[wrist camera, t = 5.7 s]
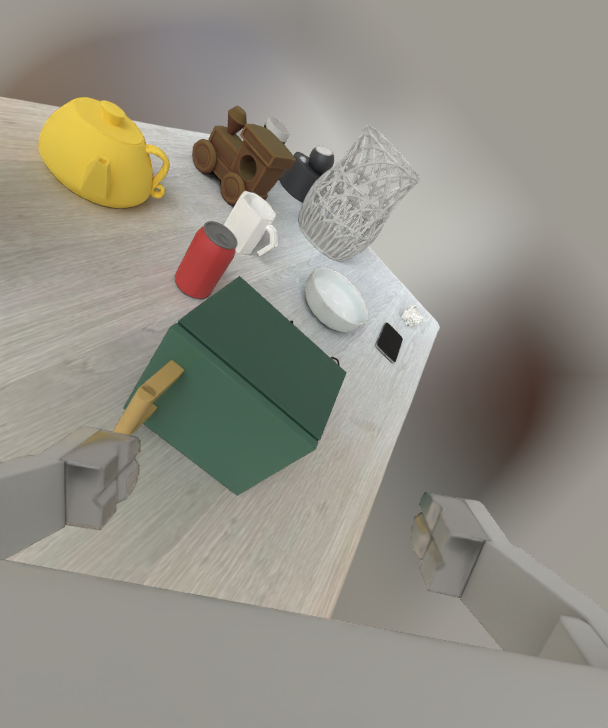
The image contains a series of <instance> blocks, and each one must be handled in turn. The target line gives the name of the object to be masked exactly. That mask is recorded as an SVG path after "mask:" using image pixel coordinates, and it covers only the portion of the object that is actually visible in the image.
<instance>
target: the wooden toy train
mask: <svg viewBox="0 0 608 728" xmlns="http://www.w3.org/2000/svg"><path fill="white" fill-rule="evenodd" d="M242 128H243V131H242V133H241V137H242V138H243V139H244V140H243V141H242V140H241V139H240V138H239V137H238V136H237V135H236V133H237V132H238V131H240V130H241V129H242ZM192 156H193V161H194V164H195V166H196V167H197V169H199V170H200V171H201V172H202V173H205V174H206V173H210V172H211V171H213V172H214V173H215V174H216V175H217V176H218V177H219V179H220V180H221V193H222V196H223V198H224V199H225V201H227V202H228V203H229V204H231V205H235V204H236V203H237V201H238V199H239V197H240V196H241V194H242V193H243V192H244V191H247V192H251V193H255V194H257V195H258V196H260V197H261V198H262V199H264V200H266V198H267V197H268V195H267V193H268V192H269V191H270V190H271V188H272V187H273V186H274V185H275V183H276V182H277V181H278V179H279V178H280V176H281V175H282V173H283V172H284V170H285V169H288V170H290V169H291V168H292V166H293V165H294V163H295V162H296V159H295V158H294V156H293V155H292V154H291V152H290V151H289V150H288V149H287V148H286V146H285V145H284V144H283V143H282V142H281V141H280V140H279V138H278V137H277V136H276V135H275V134H273V133H272V132H271V131H270V130H269V129H267V128H265V127H262V126H258V125H255V124H247V121H246V112H245V111H244V110H243V109H242V108H241V107H239V106H236V107H234V108H232V109H230V110H229V111H228V128H227V127H224V126H215V127H214V129H213V131H212V133H211V135H210V137H209V140H205V139H200V140H199V141H197V142H196V143H195V144H194V146H193V154H192Z"/></svg>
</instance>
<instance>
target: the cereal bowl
mask: <svg viewBox="0 0 608 728" xmlns="http://www.w3.org/2000/svg"><path fill="white" fill-rule="evenodd" d="M305 294H306V295H305V296H306V299H307V303H308V305H309V307H310V309H311V310H312V312H313V313H314V315H315V316H316V317H317V318H318V319H319V320H320V321H321V322H322V323H323V324H325V325H326V326H328V327H329V328H331V329H333V330H336V331H340V332H350V331H353V330H356V329H358V328H359V327H361V326H362V325H363V324H365V323H366V321H367V319H368V309H367V306H366V303H365V301H364V299H363V297H362V296H361V294H360V292H359V291H358V290H357V289H356V287H355V286H354V285H353V284H352V283H351V282H350V281H349V280H348V279H347V278H346V277H344V276H343V275H342V274H340V273H339V272H337V271H335V270H333V269H331V268H328V267H318V268H317V269H315V270H314V272H313V273H312V274H311V275H310V277H309V279H308V281H307V283H306V287H305Z"/></svg>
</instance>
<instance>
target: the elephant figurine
mask: <svg viewBox="0 0 608 728" xmlns="http://www.w3.org/2000/svg"><path fill="white" fill-rule="evenodd" d="M416 307H417V305H412V306H409V307H408V309H407V310H406V311H404V312H402V313H403V314H402V319H403V320H404V321H405V322H404V323H405V325H409V326H410V327H412V326H414V325H416V324H419V323H420V322H421V321H422V319H423V317H422V316H421V315H420V313H419V311H418V310H417V309H416ZM406 320H407V321H406Z"/></svg>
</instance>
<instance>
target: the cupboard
mask: <svg viewBox="0 0 608 728" xmlns="http://www.w3.org/2000/svg"><path fill="white" fill-rule="evenodd" d="M177 324H179V325H180V326H181V327H182V328H183V329H185V330H186V331H187V332H188V333H189V334H191V335H192V336H193V337H194V338H195V339H196V340H198V341H199V342H200V343H201V344H202V345H204V346H205V347H206V348H207V349H208V350H210V351H211V352H212V353H213V354H214V355H215V356H217V357H218V358H219V359H220V360H221V361H223V362H224V363H225V364H226V365H227V366H229V367H230V368H231V369H232V370H233V371H234V372H236V373H237V374H238V375H239V376H240V377H242V378H243V379H244V380H245V381H246V382H248V383H249V384H250V385H251V386H252V387H253V388H255V389H256V390H257V391H258V392H259V393H261V394H262V395H263V396H264V397H265V398H267V399H268V400H269V401H270V402H271V403H272V404H274V405H275V406H276V407H277V408H278V409H280V410H281V411H282V412H283V413H284V414H286V415H287V416H288V417H289V418H290V419H291V420H293V421H294V422H295V423H296V424H297V425H299V426H300V427H301V428H302V429H303V430H305V431H306V432H307V433H308V434H309V435H310V436H312V437H313V438H314V439H315V440H316V441H319V440H320V439H321V436H322V434H323V431H324V428H325V426H326V423H327V421H328V418H329V416H330V413H331V411H332V408H333V406H334V403H335V401H336V398H337V395H338V393H339V390H340V388H341V385H342V383H343V380H344V378H345V375H346V372H345V371H344V370H343V369H342V368H341V367H340V366H339V365H338V364H336V363H335V362H334V361H333V360H332V359H331V358H330V357H329V356H328V355H326V354H325V353H324V352H323V351H322V350H321V349H320V348H319V347H318V346H317V345H315V344H314V343H313V342H312V341H311V340H310V339H309V338H308V337H307V336H305V335H304V334H303V333H302V332H301V331H300V330H299V329H298V328H297V327H295V326H294V325H293V324H292V323H291V322H290V321H289V320H288V319H287V318H286V317H284V316H283V315H282V314H281V313H280V312H279V311H278V310H277V309H276V308H274V307H273V306H272V305H271V304H270V303H269V302H268V301H267V300H266V299H264V298H263V297H262V296H261V295H260V294H259V293H258V292H257V291H256V290H255V289H253V288H252V287H251V286H250V285H249V284H248V283H247V282H246V281H245V280H243V279H242V278H241V277H240V276H239V277H238V278H236V279H235V280H233V281H232V282H231V283H229V284H228V285H227V286H225V287H224V288H223V289H221V290H220V291H218V292H217V293H216V294H214V295H213V296H212V297H210V298H209V299H207V300H206V301H205V302H203V303H202V304H201V305H199V306H198V307H196V308H195V309H194V310H192V311H191V312H190V313H188V314H187V315H185V316H184V317H183V318H181V319H180V320H179V321H178V323H177Z"/></svg>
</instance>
